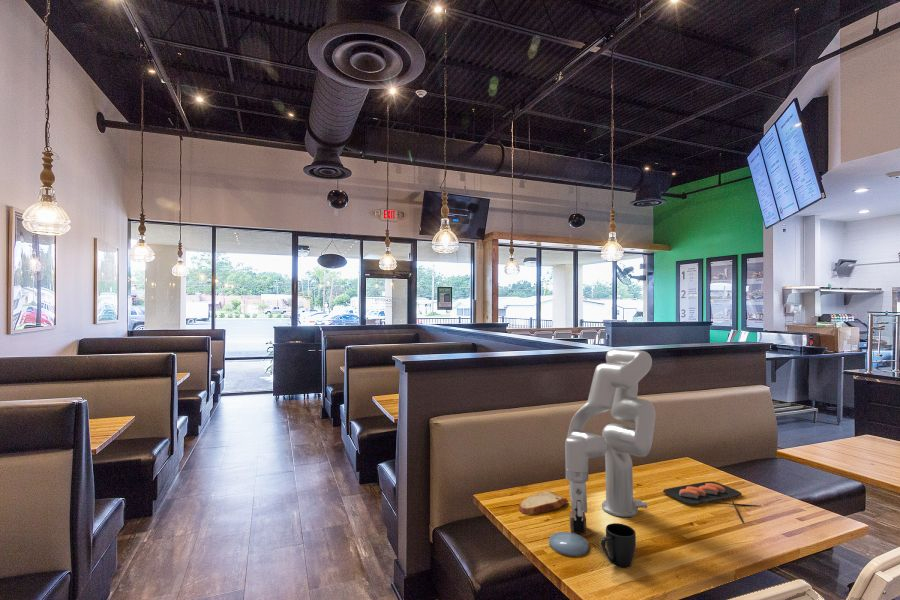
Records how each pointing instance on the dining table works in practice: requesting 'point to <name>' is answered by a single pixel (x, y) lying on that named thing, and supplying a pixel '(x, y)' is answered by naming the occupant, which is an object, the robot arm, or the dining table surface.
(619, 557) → the mug
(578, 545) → the dish
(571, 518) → the block
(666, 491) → the sushi plate
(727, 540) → the dining table surface
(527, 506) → the bread slice
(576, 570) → the dining table surface
